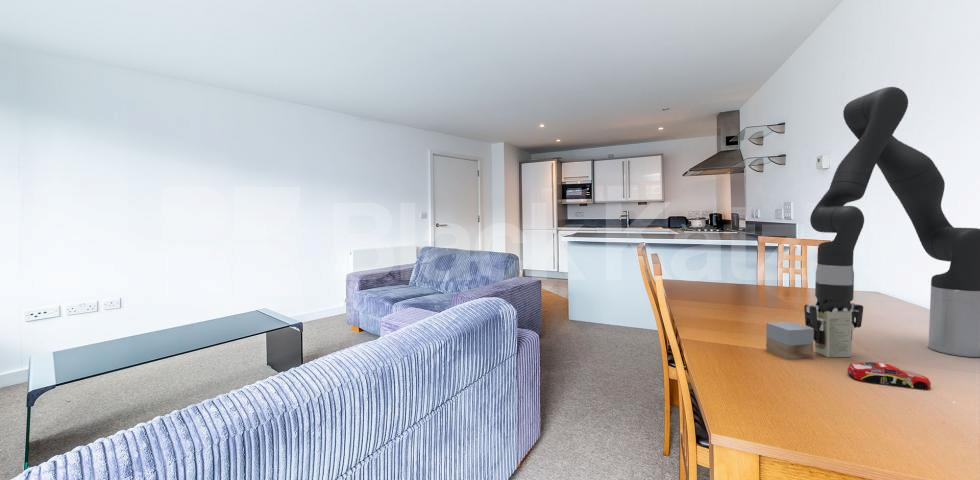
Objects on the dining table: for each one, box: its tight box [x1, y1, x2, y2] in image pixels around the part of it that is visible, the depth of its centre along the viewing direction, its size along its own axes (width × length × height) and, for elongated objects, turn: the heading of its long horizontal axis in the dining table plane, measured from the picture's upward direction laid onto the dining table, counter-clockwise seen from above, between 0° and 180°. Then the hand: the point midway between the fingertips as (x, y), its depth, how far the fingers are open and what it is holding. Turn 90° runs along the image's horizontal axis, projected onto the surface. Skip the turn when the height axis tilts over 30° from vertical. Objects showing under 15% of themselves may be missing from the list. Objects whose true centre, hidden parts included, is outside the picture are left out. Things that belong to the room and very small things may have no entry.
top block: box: [765, 321, 814, 345], centre depth 102 cm, size 7×7×4 cm
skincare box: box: [814, 310, 853, 358], centre depth 101 cm, size 6×4×12 cm
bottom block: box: [765, 337, 814, 361], centre depth 102 cm, size 7×7×4 cm
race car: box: [847, 361, 932, 391], centre depth 84 cm, size 13×5×4 cm, turn 63°
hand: (832, 343), depth 101 cm, fingers closed on skincare box, 6 cm apart
